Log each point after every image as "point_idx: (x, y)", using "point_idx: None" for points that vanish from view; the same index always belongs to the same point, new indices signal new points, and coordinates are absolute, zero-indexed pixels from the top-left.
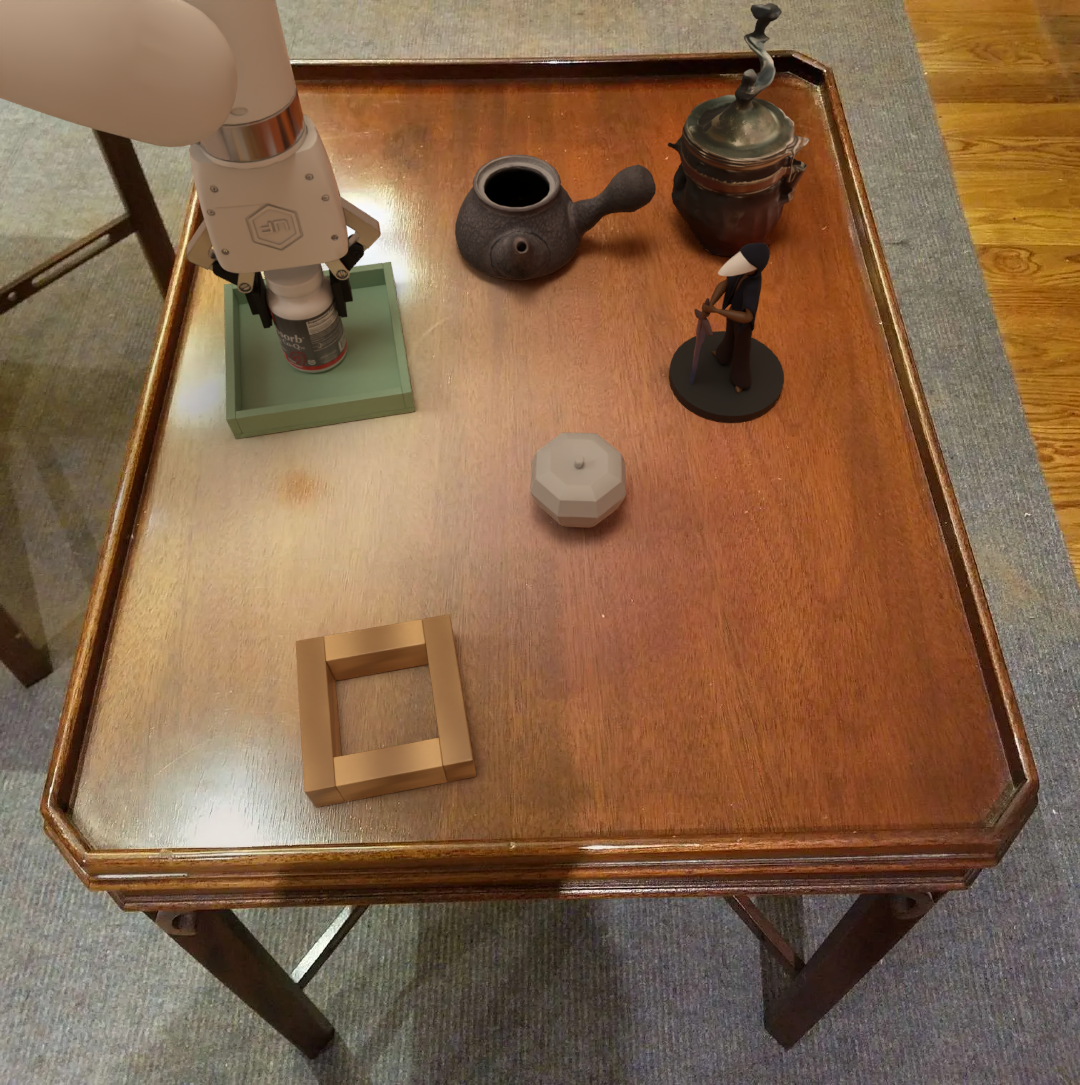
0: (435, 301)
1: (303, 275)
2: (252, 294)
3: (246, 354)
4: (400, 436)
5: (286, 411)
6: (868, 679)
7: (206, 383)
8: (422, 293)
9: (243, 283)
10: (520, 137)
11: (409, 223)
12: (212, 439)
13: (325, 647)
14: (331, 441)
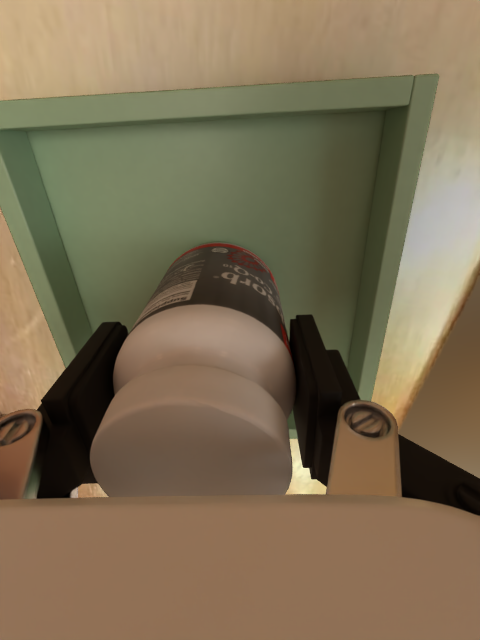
0: (41, 372)
1: (143, 441)
2: (340, 392)
3: (345, 307)
4: (24, 26)
5: (280, 83)
6: None
7: (423, 258)
8: None
9: (372, 436)
10: None
11: None
12: (451, 95)
13: None
14: (188, 38)
